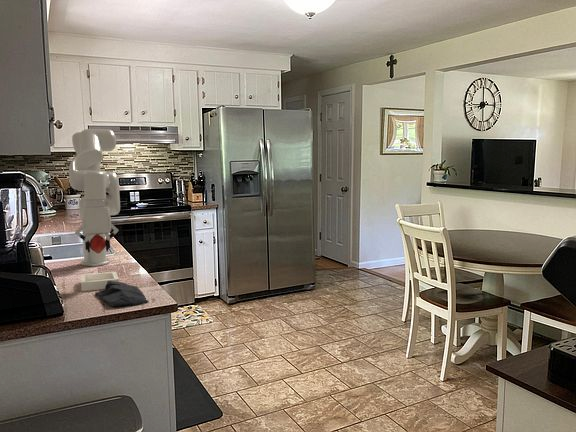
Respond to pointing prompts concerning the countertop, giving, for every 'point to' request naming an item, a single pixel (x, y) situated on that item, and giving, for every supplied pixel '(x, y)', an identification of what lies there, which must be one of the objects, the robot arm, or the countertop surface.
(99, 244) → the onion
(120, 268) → the countertop surface
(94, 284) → the dish
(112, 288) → the dark grey folded cloth
